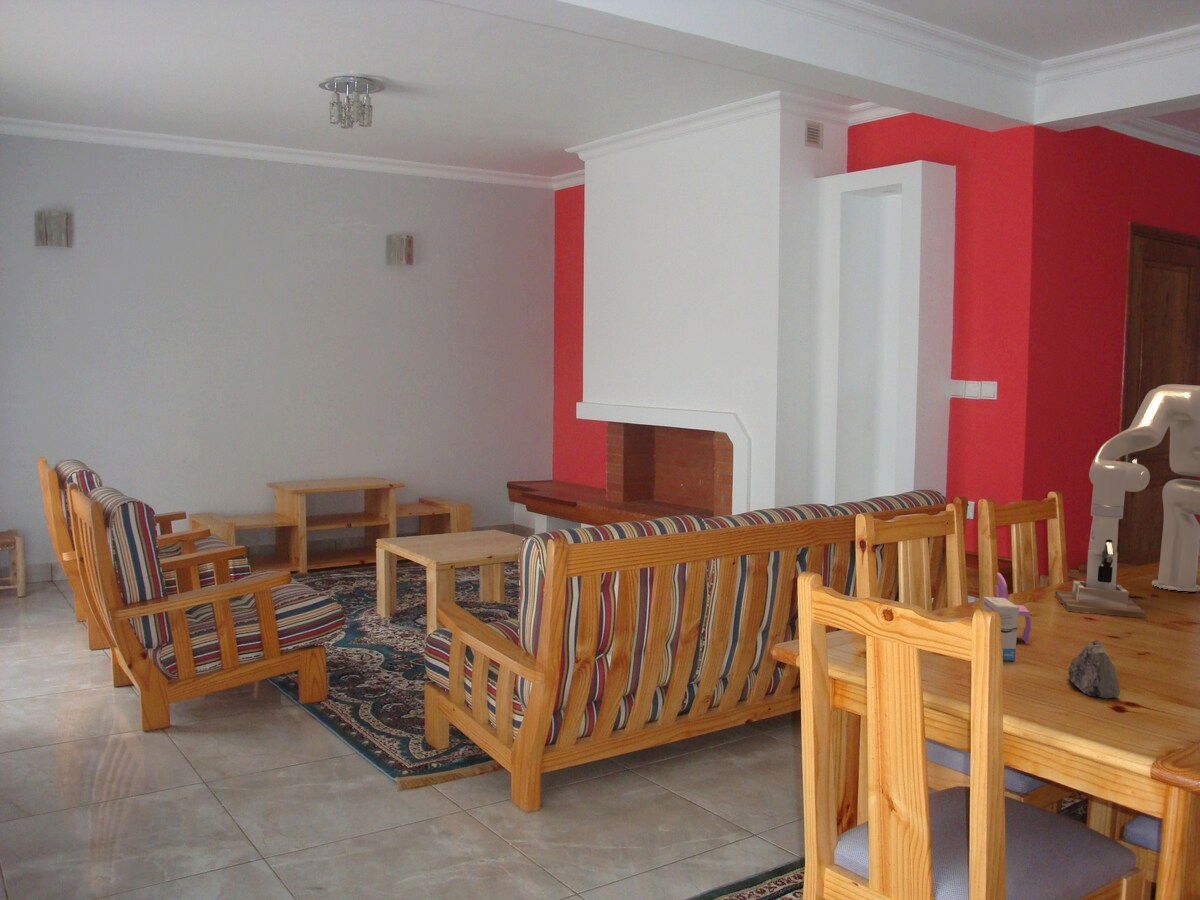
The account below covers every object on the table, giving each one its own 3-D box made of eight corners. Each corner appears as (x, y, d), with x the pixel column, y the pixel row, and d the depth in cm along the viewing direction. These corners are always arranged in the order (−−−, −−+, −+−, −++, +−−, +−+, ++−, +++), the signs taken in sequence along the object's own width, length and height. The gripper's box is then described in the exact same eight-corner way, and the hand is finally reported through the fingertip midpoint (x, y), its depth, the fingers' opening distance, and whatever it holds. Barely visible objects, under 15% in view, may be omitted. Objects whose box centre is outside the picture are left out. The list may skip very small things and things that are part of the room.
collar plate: (1055, 596, 281) (1056, 576, 281) (1127, 602, 277) (1129, 582, 276) (1067, 611, 264) (1069, 590, 263) (1145, 618, 259) (1147, 597, 259)
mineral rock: (1071, 675, 209) (1075, 626, 208) (1129, 687, 203) (1134, 637, 202) (1055, 690, 199) (1059, 639, 198) (1116, 703, 192) (1121, 650, 192)
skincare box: (1115, 597, 269) (1119, 551, 268) (1107, 599, 266) (1111, 553, 265) (1091, 592, 274) (1095, 547, 273) (1083, 594, 271) (1087, 549, 270)
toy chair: (1031, 646, 230) (1036, 579, 228) (989, 642, 231) (995, 576, 230) (1023, 636, 238) (1029, 572, 236) (983, 632, 240) (988, 568, 238)
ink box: (1015, 661, 217) (1020, 606, 216) (992, 660, 217) (996, 605, 216) (1000, 650, 225) (1005, 597, 224) (978, 649, 225) (982, 596, 224)
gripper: (1084, 505, 277) (1078, 571, 279) (1098, 515, 260) (1092, 584, 262) (1114, 507, 275) (1109, 573, 277) (1131, 517, 259) (1124, 587, 260)
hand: (1101, 578), depth 270 cm, fingers closed on skincare box, 6 cm apart
